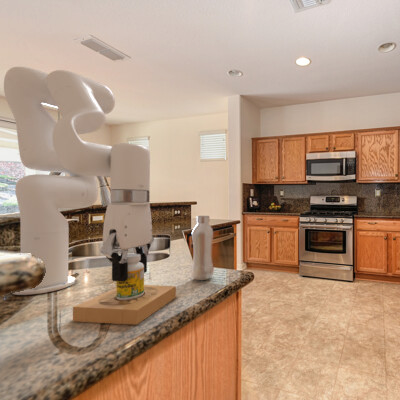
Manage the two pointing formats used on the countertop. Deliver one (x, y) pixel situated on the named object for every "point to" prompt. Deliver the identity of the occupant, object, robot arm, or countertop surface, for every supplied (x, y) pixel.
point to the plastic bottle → (202, 249)
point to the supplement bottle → (132, 279)
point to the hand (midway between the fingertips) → (130, 275)
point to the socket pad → (124, 306)
